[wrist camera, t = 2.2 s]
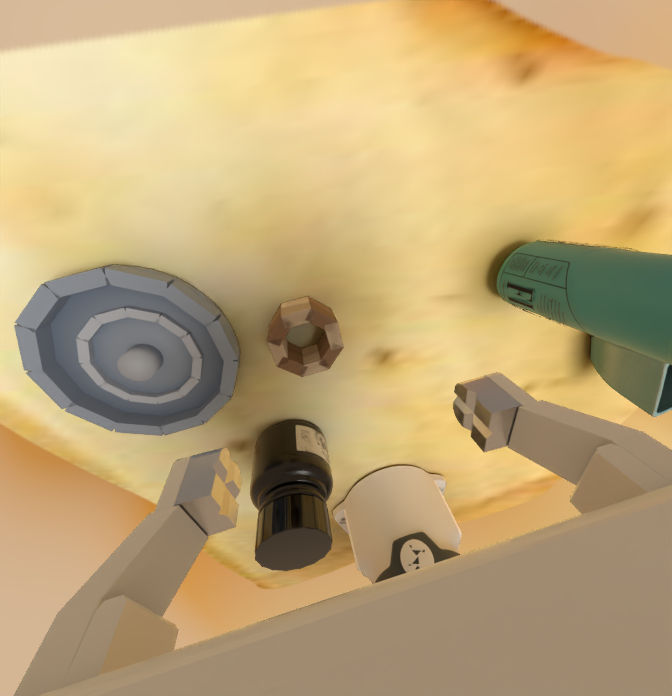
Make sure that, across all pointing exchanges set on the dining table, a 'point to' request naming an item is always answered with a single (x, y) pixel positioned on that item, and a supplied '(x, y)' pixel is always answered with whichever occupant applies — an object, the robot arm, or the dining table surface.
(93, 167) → the dining table surface
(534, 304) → the beverage bottle
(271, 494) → the ink bottle
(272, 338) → the bead loop
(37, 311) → the groove tray
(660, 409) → the flower pot
